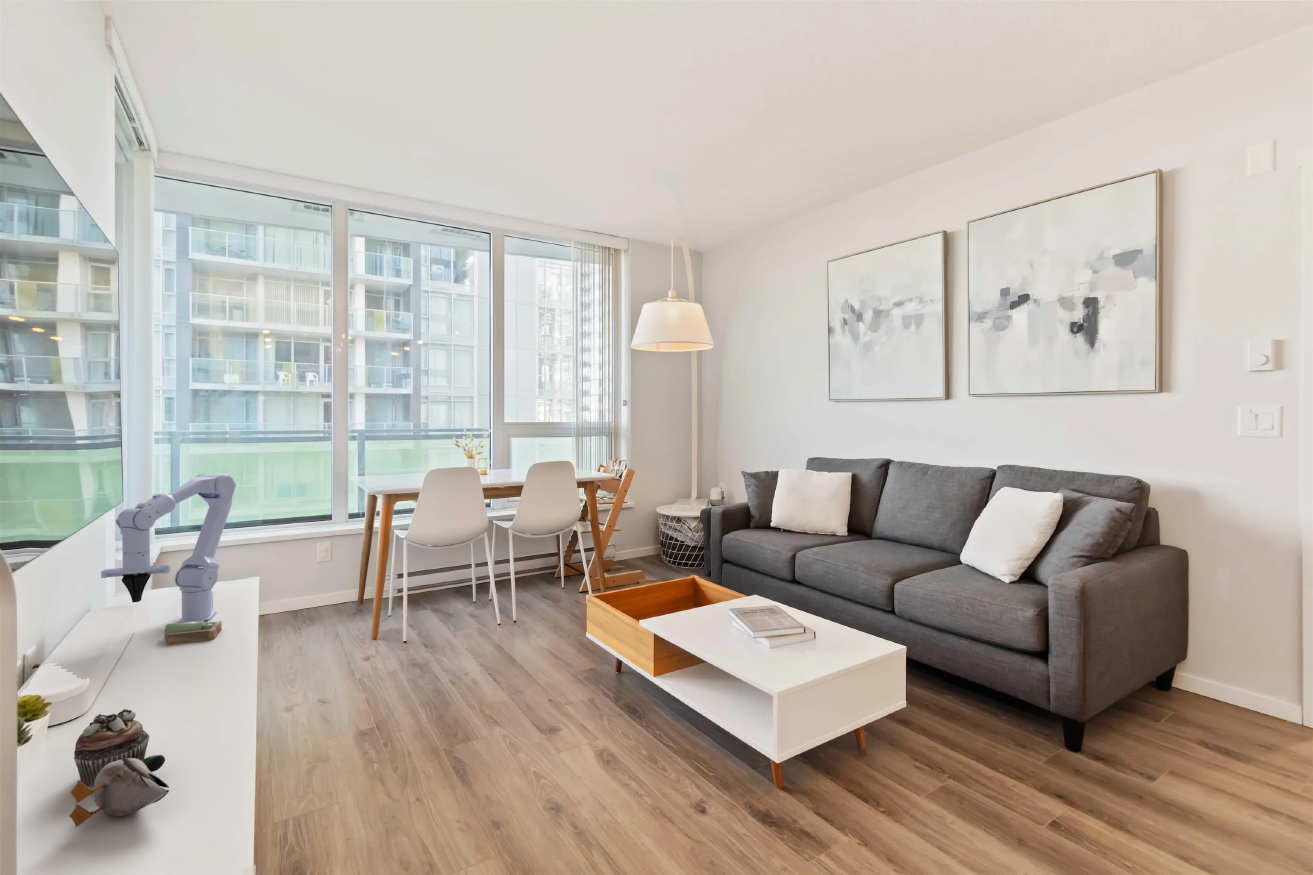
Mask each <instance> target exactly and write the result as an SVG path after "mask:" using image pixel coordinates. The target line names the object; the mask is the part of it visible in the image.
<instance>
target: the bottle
mask: <svg viewBox="0 0 1313 875" xmlns="http://www.w3.org/2000/svg"><path fill="white" fill-rule="evenodd" d="M204 623H205V621H193V622H183V623H177V622H175V623H174V622H173V623H166V625H165V627H164V631H163V632H164V633H163V634H164V640H165V641H166V642H168V634H170V633H179V632H189V631H198V630H207V629H211V628H212V626H213V625H214V624H204Z"/></svg>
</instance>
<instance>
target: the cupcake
mask: <svg viewBox="0 0 1313 875" xmlns="http://www.w3.org/2000/svg"><path fill="white" fill-rule="evenodd" d="M136 716H137V715H136V712H134V711H132V710H131V709H130V710H129V709H126V708H125V709H123V710H121V711H120V712H118V713H117V714H116V713H112V714H108V715H107V714H106V715H105V714H101V713H98V715H95V717H94V718H93V721H91V722H90V723H89V725H88V726H87V727H86V728H84V729H83V731H82V733H81V734H80V735H79V736H78V738H77V740H76V742H75V747H74V754H73V755H74V757H73V759H74V762H75V765H76V768H77V772H78V775H79V778H80V781H81V782H82V783H84V784H85V785H86V786H87V787H89V788H90V787H91V788H92V787H93V788H94V782H95V779H96V776H97V775H98V773H99V772H100V771H101V770H102V769H103V768H104V767H105V766H106V765H107V764H109V763H111V762H114V761H117V760H121V759H126V758H135V759H139V760H143V759H146V754H147V749H148V745H149V741H150V734H149V733H148V732H147V731H146V730H144V728H143V724H142V723H141V722H140V721H138V720H136V719H135V718H136Z"/></svg>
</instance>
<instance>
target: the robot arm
mask: <svg viewBox="0 0 1313 875" xmlns="http://www.w3.org/2000/svg"><path fill="white" fill-rule="evenodd" d="M236 487H237V484H236V482H235V480H234V478H233V477H232V476H231V475H230V474H225V473H224V474H210V473H208V474H207V473H199V474H197V475H195V476H193V477H191V478H190V480H189V481H187V482H186V483H184V484H182V485H180V486H178V488H176V489H174V490H172V491H171V492H168V494H166V493H155V494H153V495H152V498H149V499H148V500H146V501H144V502H140V503H137V504H136V506H135V507H134V508H133V507H128V508H125V509H123V510H122V511H120V513H119V514H118V517H117V519H115V524H116V526H117V528H119V530H120V534H121V538H122V540H121V542H122V543H121V544H122V546H121V547H122V549H121V550H122V552H121V553H122V567H117V568H110V569H109V568H105V569H102V570H101V572H100V575H101V576H100V577H101V579H107V578H114V577H122V578H121V582H122V583H123V585H124V586H125V587H126V589H127V591H128V593H129V596H130V598H131V602H132V603H140V602H141V601H142V598H143V594H144V590H145V588H146V585H147V584H148V581H149V579H150V578H151V576H152V575H154V574H156V575H157V574H170V573H171V564H164V565H162V564H161V565H160V564H157V565H156V564H155V565H154V564H153V565H151V551H150V550H151V548H150V543H151V542H150V540H151V539H150V534H151V533H150V532H151V531H150V529H152V528H153V526H154V525H155V523H156V522H157V520H159V519H160V518H162V517H164V516H165V515H167V514H169V513H172V511H174V510H175V508H176V505H177V504H179V503H180V502H183V501H185V500H187V499H189V498H191V497H193V496H195V495H198V496H199V497H200V498H201V499H203V501H204V502H206V503H207V504H208V506H209V507H208V509H207V512H206V516H205V518H204V522H203V524H202V526H201V530H200V532H199V535H198V537H197V540H196V544H195V545H194V546H195V547H194V549H193V552H192V555H191V556H190V557H188V558H187V559H185V560H183V562H182V564H181V566H180V568H179V569H178V570H177V571H176V573H175V574H174V584H175V585H176V586H177V587H178V588H179V591H181V617H180V618H179V619H178V620H177V621H176V623H183V622H193V621H204V622H205V621H210V620H211V619H212V617H213V616H214V615H215V614H216V613H217V611H218V610H216V609H215V610H214V593H213V592H214V591H213V590H212V589H214V586H215V585H216V583H217V581H218V578H219V577H218V576H219V574H218V573H219V572H218V571H219V568H220V565H219V564H218V562H217V561H216V560H215V559H214V557H215V554H216V552H217V550H218V545H219V543H220V540H221V537H222V534H223V532H224V528H225V525H226V522H227V519H228V517H229V513H230V511H231V508H232V504H233V495H234V492H235V489H236Z"/></svg>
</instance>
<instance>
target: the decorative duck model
mask: <svg viewBox="0 0 1313 875" xmlns="http://www.w3.org/2000/svg"><path fill="white" fill-rule="evenodd" d="M165 762H166V758H165V756H164V755H162V754H158V755H157V754H154V755H150V756H148V757H145V758H144V759H143V760H139V759H135V758H126V759H121V760H117V761H114V762H111V763H109V764H107V765H106V766H105V767H104V768H103V769H102V770H101V771H100V772H99V773H98V775H97V776H96V779H95V782H94V787H93V789H91V788H90V787H89V786H86V785H85V784H84V783H82V782H81V780H77V782H76V785H75V787H74V788H73V789H72V790H71V791H70V794H71V795H72V796H73V798H74V799H75V807H74V809H73V810H72V812H71V814H70V815H68V817H70V818H71V820H72V821H73V823H74V826H75V828H78V827H79V826H81V825H82V824H83V823H85V821H87V820H89V819H90V818H91V817H92V816H93V815H95V814H96V813H98V812H100V811H102V812H103V813H105V814H106V815H110V816H111V817H112V816H113V817H124V816H128V815H130V814H134V813H136V812H138V811H140V810H142V809H144V808H145V807H147V806H150V805H153V804H155V803H157V802H159V801H161V800H162V799H163V798H164V797H166V795H167V794H168V793H169V792H170V790H169V789H168V788H170V786H169V785H168V784H167V783H166V782H165V781H164V780H162V779H161V778H159V777H158V776H157V775H156V774H154V773H153V772H156V771H158V770H159V769H161V768H162V766H163V765H164V764H165ZM165 788H167V789H165ZM92 794H93V799H94V800H93V801H94V802H95V805H96V806H97V807H98V808H97V809H96V810H94V811H89V810H88V809H86V808H85V807H84V806H83V807H82V806H81V805H80V804H78V803H80V802H81V801H84V799H86V798H87V797H89V796H91V795H92Z"/></svg>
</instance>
